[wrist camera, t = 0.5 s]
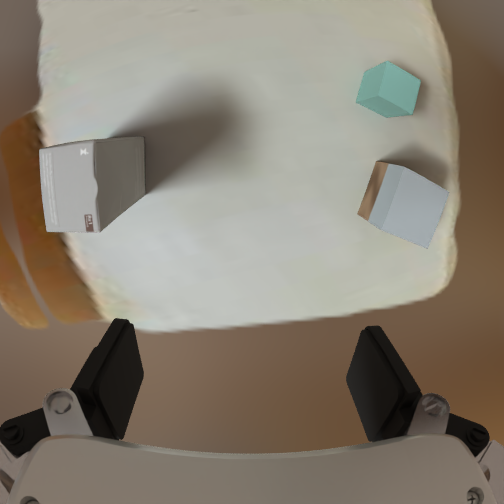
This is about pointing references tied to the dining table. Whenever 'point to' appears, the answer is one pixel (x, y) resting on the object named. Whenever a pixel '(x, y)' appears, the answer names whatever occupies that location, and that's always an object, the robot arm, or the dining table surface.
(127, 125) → the dining table surface
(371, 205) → the tower base
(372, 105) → the block
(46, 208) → the skincare box
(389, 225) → the tower top
